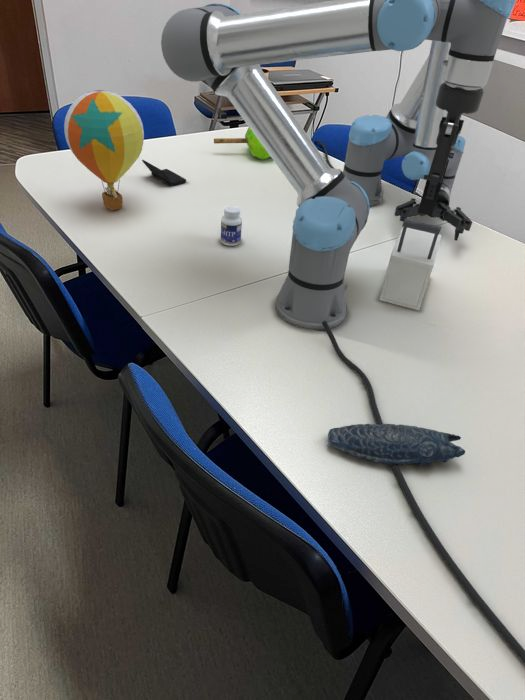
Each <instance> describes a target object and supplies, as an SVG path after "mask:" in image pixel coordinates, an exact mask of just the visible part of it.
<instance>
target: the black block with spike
mask: <svg viewBox="0 0 525 700" xmlns="http://www.w3.org/2000/svg"><path fill="white" fill-rule="evenodd" d="M141 161H142V163H143V164H144V165H145V167H147V169H148V170H149V171H150V172H151V174H150V175H151V176H153V177H155V178H156V179H158V180H160V181H162V182H163V183H165V184H167V185H168V186H170V187H172V186H177V185H180V184H184V183H185V184H186V183H187V179H186V178H184V177H183V176H181V175H179V174H177V173H175V172H173V171H172V170H170V169H168V168H164V169H161V168H159V167H157V166H155V165H153V164H151V163H150V162H148V161H146V160H145V159H142V160H141Z"/></svg>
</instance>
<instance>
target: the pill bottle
mask: <svg viewBox="0 0 525 700" xmlns="http://www.w3.org/2000/svg"><path fill="white" fill-rule="evenodd" d="M242 227H243V219H242V217H241V208H240V207H238V206H235V205H227V206H225V207H224V209H223V215H222V216H221V219H220V242H221V243H222V244H223V245H226V246H229V247H231V246H232V247H234V246H238V245H239V244H240V243H241V241H242Z"/></svg>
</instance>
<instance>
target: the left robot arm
mask: <svg viewBox="0 0 525 700" xmlns="http://www.w3.org/2000/svg"><path fill="white" fill-rule="evenodd" d="M511 2H512V0H327V1H326V0H325V1H319V2H314V3H307V4H300V5H294V6H288V7H281V8H274V9H267V10H262V11H254V12H248V13H242V12H241V11H239V10H238V8H235V7H234V6H231V5H228V4H223V3H209V4H206V5H203V6H198V7H192V8H185V9H181V10H179V11H177V12H175V13H174V14H173V15H171V16H170V18H169V19H168V20H167V22H166V23H165V25H164V26H163V29H162V33H161V40H160V46H161V47H160V48H161V53H162V57H163V60H164V61H165V64H166V65H167V67H168V68H169V69H170V71H171V72H172V73H173V74H174V75H176V76H177V77H178V78H180V79H182V80H184V81H187V82H191V83H192V82H193V83H195V82H198V83H199V82H203V81H205V82H206V83H207V85H208V86H209V87H210V89H211V90H212V91H213V93H214V94H215V95H216V96H220V97H225V98H227V99H228V100H229V102H230V103H231V104H232V106H233V107H234V109H235V110H236V111H237V113H238V114H239V116H240V117H241V118H242V119H243V121H244V122H245V123H246V125H247V126H248V128H250V129H251V130H252V132H253V133H254V134H255V136H256V137H257V138H258V140H259V141H260V143H261V144H262V145H263V147H264V148H265V149H266V151H267V152H268V154H269V155H270V156H271V157H270V158H271V159H272V161H273V162H274V164H276V166H277V167H278V169H279V170H280V172H281V173H282V174H283V176H284V177H285V179H287V181H288V183H289V184H290V185H291V186H292V188H293V190H294V191H295V192H296V194H297V197H296V206H297V209H296V210H295V215H294V218H293V220H292V237H291V243H290V244H291V246H290V254H289V262H288V263H289V264H288V270H287V271H288V272H287V275H286V278H285V279H284V282H283V283H282V285H281V287H280V290H279V291H278V294H277V296H276V300H275V311H276V313H277V315H278V316H279V317H280V318H281V319H282V320H283V321H284V322H286V323H287V324H289V325H291V326H293V327H296V328H300V329H304V330H310V331H324V330H325V333H326V334H327V336H328V338H329V340H330V342H331V345H332V347H333V350H334V351H335V353H336V355H337V356H338V357H339V359H340V360H341V361H342V362H343V363H345V365H346V366H347V367H349V368H350V369H351V370H352V371H353V372H355V373H356V374H357V375H358V376H359V378H360V379H361V381H362V382H363V384H364V385H365V388H366V391H367V395H368V399H369V404H370V408H371V410H372V414H373V417H374V420H375V423H376V424H384V422H383V420H382V416H381V414H380V411H379V408H378V405H377V400H376V397H375V396H376V395H375V393H374V389H373V386H372V384H371V382H370V380H369V378H368V377H367V375H366V374H365V373H364V371H363V370H362V369H361V368H360V367H358V366H357V365H356V364H355V363H353V362H352V361H351V360H350V359H349V358H348V357H347V356H346V355H345V354H344V353H343V351H342V350H341V348H340V347H339V344H338V342H337V339H336V337H335V335H334V333H333V331H332V329H333V328H336V327H337V326H339V325H340V324H342V323H343V322H344V320H345V318H346V315H347V310H348V305H347V297H346V291H347V290H348V284H346V283H344V280H345V275H346V271H347V267H348V266H347V265H348V260H349V257H350V253H351V250H352V248H353V246H354V245H355V242H356V241H357V239H358V238H359V236H360V234H361V232H362V231H363V230H364V229H365V227H366V225H367V222H368V219H369V215H370V209H371V206H370V205H369V199H368V196H367V194H366V192H365V191H364V189H363V188H362V187H361V186H360V185H358V184H357V183H355V182H353V181H349V180H348V179H347V178H346V176H345V175H344V174H343V170H342V169H341V168H335V167H334V168H335V169H334V168H331V167H329V165H328V164H327V161H326V158H324V157H323V155H322V154H321V152H320V151H319V149H318V148H317V146H316V144H315V143H314V141H312V139H311V138H310V137H309V135H308V133H307V132H306V131H305V129H304V128H303V126H302V125H301V124H300V122H299V121H298V119H297V118H296V117H295V115H294V114H293V112H292V111H291V109H290V108H289V106H288V105H287V104H286V102H285V101H284V99H283V98H282V97H281V95H280V94H279V92H278V90H276V88H275V87H274V85H273V84H272V82H271V80H270V79H269V78H268V77H267V75H266V74H265V72H264V71H263V69H262V67H261V65H267V64H269V65H270V64H276V63H286V62H294V61H301V60H303V61H304V60H310V59H319V58H327V57H336V56H344V55H353V54H360V53H361V54H362V53H370V52H371V53H372V52H383V51H396V52H405V51H409V50H414V49H415V48H416V49H417V48H418V47H419V46H420V45H421V44H423V42H424V41H432V40H433V41H441V42H450V43H451V46H450V50H449V53H448V54H449V55H448V60H444V61H443V62H442V65H443V66H446V67H447V68H445V70H444V73H443V77H442V79H443V80H444V81H445V82H444V83H442V84H441V85H440V88H439V91H438V95H437V99H436V106H437V107H438V108H440V109H442V110H446V111H447V112H448V114H447V117H442V120H441V122H440V125H439V133H438V136H437V140H436V145H437V148H436V151H435V154H434V158H433V161H432V165H431V168H430V171H429V174H428V175H424V178H423V179H422V180H425V185H424V188H423V191H422V195H421V198H420V202H419V203H420V206H419V209H418V213H421V214H425V216H427V215H430V216H432V214H433V210H434V207H435V204H436V200H437V197H438V194H439V192H440V189H441V186H442V182H443V179H444V176H445V172H446V169H447V166H448V162H449V159H448V158H450V159H453V156H454V153H451V151H452V149H453V148H454V147H455V144H456V141H457V138H458V135H459V136H460V134H461V132H462V129H463V125H464V123H465V120H464V119H461V118H462V114H466V115H470V114H471V115H472V114H475V113H477V112H478V111H479V108H480V105H481V102H482V99H483V96H484V94H485V93H484V92H485V91H484V89H483V88H484V87H485V86H487V84H488V81H489V78H490V75H491V71H492V68H493V65H494V61H495V57H496V53H497V50H498V47H499V44H500V41H501V38H502V36H503V32H504V29H505V26H506V23H507V20H508V17H509V13H510V12H509V10H510V6H511ZM390 465H391V467H392V470H393V472H394V474H395V477H396V479H397V482H398V483H399V486H400V488H401V490H402V492H403V494H404V496H405V498H406V500H407V502H408V504H409V506H410V508H411V510H412V511H413V513H414V515H415V516H416V518H417V520H418V522H419V524H420V525H421V527H422V528H423V530H424V532H425V533H426V535H427V537H428V539H429V540H430V541H431V543H432V544H433V546H434V548H435V550H436V551H437V553H438V554H439V555H440V557H441V558H442V559H443V561H444V563H445V564H446V565H447V566H448V568H449V569H450V571H451V573H453V575H454V576H455V578H456V579H457V580H458V582H459V584H460V585H461V586H462V587H463V589H464V590H465V591H466V593H467V594H468V595H469V596H470V598H471V599H472V600H473V602H474V603H475V604H476V605H477V607H478V608H479V609H480V611H481V612H482V613H483V614H484V616H485V617H486V618H487V620H488V621H489V622H490V623H491V624H492V626H493V627H494V628H495V629H496V630H497V631H498V633H499V634H500V635H501V636H502V638H503V639H504V640H505V642H506V643H507V644H508V645H509V646H510V647H511V649H512V650H513V651H514V653H516V655H517V656H518V657H519V658H520V660H521V661H522V662H523V663H524V664H525V649H524V647H523V646H522V645H521V644H520V643H519V641H518V640H517V639H516V638H515V637H514V635H513V634H512V633H511V631H509V629H508V628H507V627H506V626H505V624H503V622H502V621H501V620H500V618H499V617H498V616H497V615H496V614H495V612H494V611H493V610H492V609H491V608H490V607H489V605H488V604H487V603H486V601H485V600H484V599H483V597H481V595H480V594H479V593H478V591H477V590H476V589H475V587H474V586H473V585H472V584H471V582H470V581H469V580H468V579H467V577H466V576H465V574H464V573H463V572H462V570H461V569H460V568H459V566H458V565H457V564H456V562H455V561H454V559H453V557H452V556H451V555H450V554H449V552H448V550H446V548H445V547H444V545H443V544H442V542H441V540H440V539H439V537H438V536H437V534H436V533H435V531H434V530H433V528H432V526H431V525H430V523H429V521H428V520H427V517H425V515H424V513H423V512H422V510H421V508H420V506H419V505H418V503H417V500H416V499H415V497H414V495H413V493H412V491H411V488H410V487H409V485H408V483H407V481H406V479H405V476H404V474H403V472H402V470H401V468H400V465H396V464H390Z"/></svg>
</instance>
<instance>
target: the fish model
mask: <svg viewBox="0 0 525 700" xmlns="http://www.w3.org/2000/svg"><path fill="white" fill-rule="evenodd" d="M327 438H328V439H327V440H328V441H327V445H328V446H330V447H333V448H335V449H339V450H341V451H342V452H343V453H346V452H347V453H348V454H349V455H351V456H356V457H357V458H360V459H366V460H369V461H374V462H376V463H380V464H387V465H391V464H396V465H399V466H401V465H409V464H416V465H419V466H427V465H428V464H429V463H433V462H437V461H440V462H441V463H447V462H448V461H449V460H451V459H452V460H453V459H454V458H460V457H463V456H464V455H465V454H466V450H465V449H464V448H462V447H461V446H460V445H457V444H455V443H453V442H456V441H460V440H461V439H462V437H461V436H460V435H456V434H454V433H449V432H443V431H438V430H435V429H431V428H426V427H421V426H420V427H419V426H416V425H407V424H394V423H383V424H377V423H376V424H374V423H373V424H372V423H364V424H363V423H358V424H351V425H344V426H340V427H333V428H330V429H329V431H328V432H327Z"/></svg>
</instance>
